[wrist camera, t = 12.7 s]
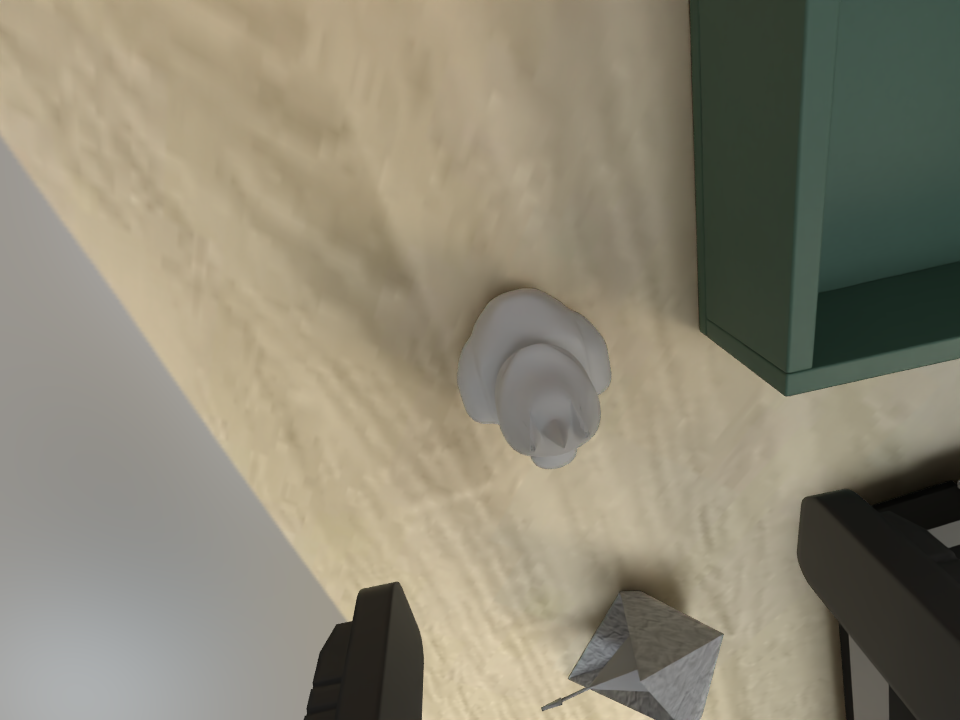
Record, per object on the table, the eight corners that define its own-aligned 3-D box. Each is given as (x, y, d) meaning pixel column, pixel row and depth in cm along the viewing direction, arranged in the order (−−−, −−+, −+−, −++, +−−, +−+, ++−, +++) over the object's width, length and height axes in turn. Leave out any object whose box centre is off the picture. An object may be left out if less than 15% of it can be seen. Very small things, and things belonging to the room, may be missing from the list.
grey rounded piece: (575, 256, 18) (662, 335, 11) (602, 403, 21) (685, 543, 14) (436, 295, 19) (432, 397, 11) (481, 435, 21) (500, 589, 14)
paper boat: (690, 702, 29) (547, 775, 26) (634, 588, 32) (502, 645, 30) (824, 708, 19) (613, 827, 16) (723, 542, 22) (535, 621, 20)
